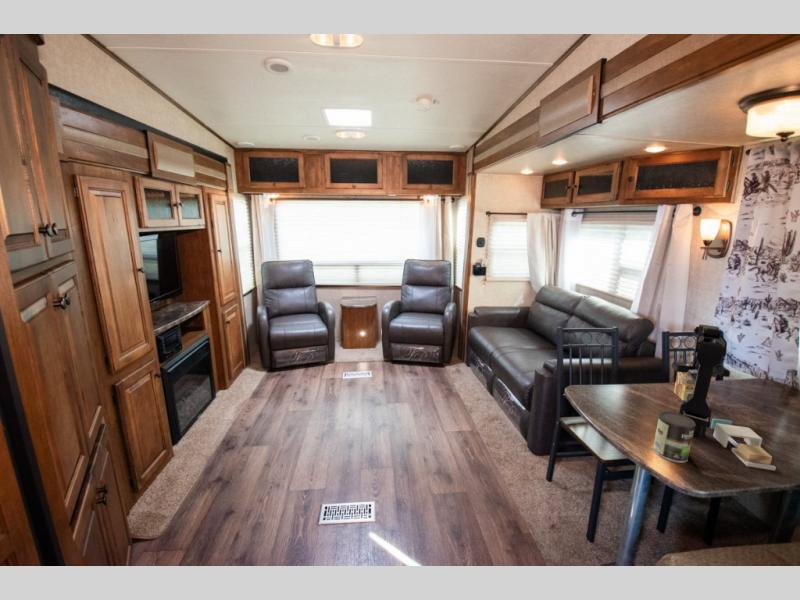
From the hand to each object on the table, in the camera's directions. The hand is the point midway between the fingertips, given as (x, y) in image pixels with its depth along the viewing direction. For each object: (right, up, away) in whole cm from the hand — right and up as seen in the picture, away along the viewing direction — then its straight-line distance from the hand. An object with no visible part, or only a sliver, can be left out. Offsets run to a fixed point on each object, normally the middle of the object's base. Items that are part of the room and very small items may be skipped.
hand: (696, 387), depth 149 cm
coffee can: (-31, -18, -25) cm, 44 cm away
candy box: (+7, -9, +16) cm, 20 cm away
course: (-4, -17, -21) cm, 28 cm away
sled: (-5, -17, -23) cm, 29 cm away
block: (-7, -18, -30) cm, 36 cm away
